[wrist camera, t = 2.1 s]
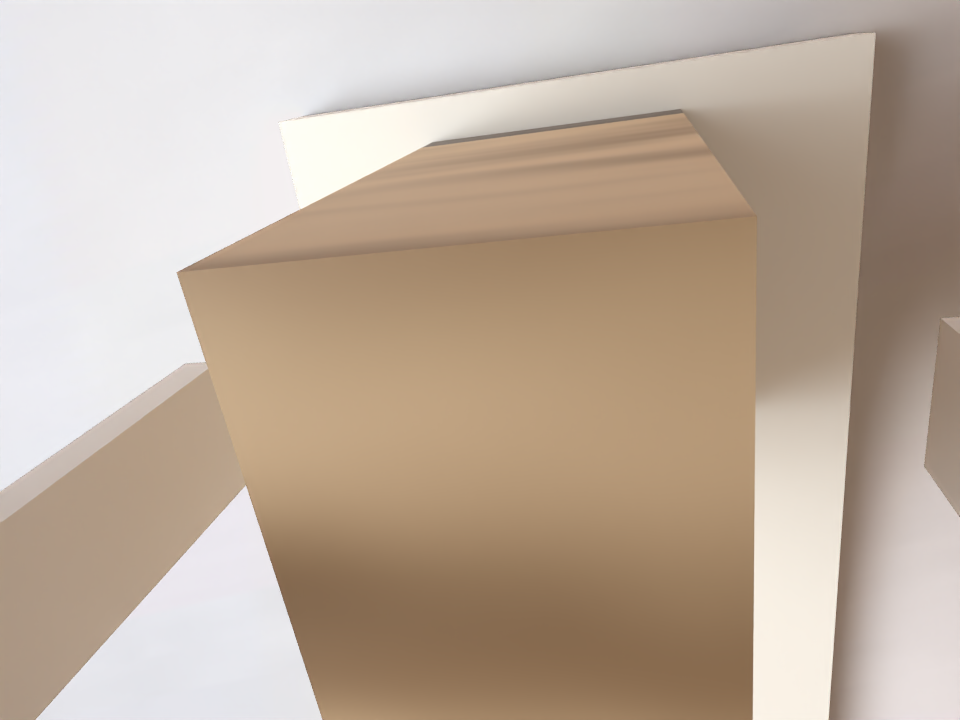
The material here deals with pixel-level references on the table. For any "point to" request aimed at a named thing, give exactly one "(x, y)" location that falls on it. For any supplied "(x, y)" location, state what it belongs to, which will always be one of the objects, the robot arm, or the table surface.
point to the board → (779, 284)
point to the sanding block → (505, 426)
